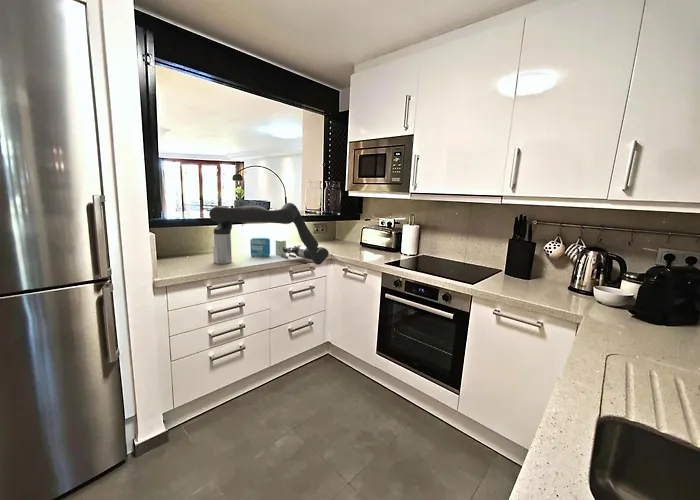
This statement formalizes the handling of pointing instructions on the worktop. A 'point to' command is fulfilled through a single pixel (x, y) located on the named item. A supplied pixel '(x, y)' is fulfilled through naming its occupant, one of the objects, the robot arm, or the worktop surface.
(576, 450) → the worktop surface
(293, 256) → the chute
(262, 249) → the data package
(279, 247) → the sage block
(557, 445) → the worktop surface
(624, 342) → the worktop surface
